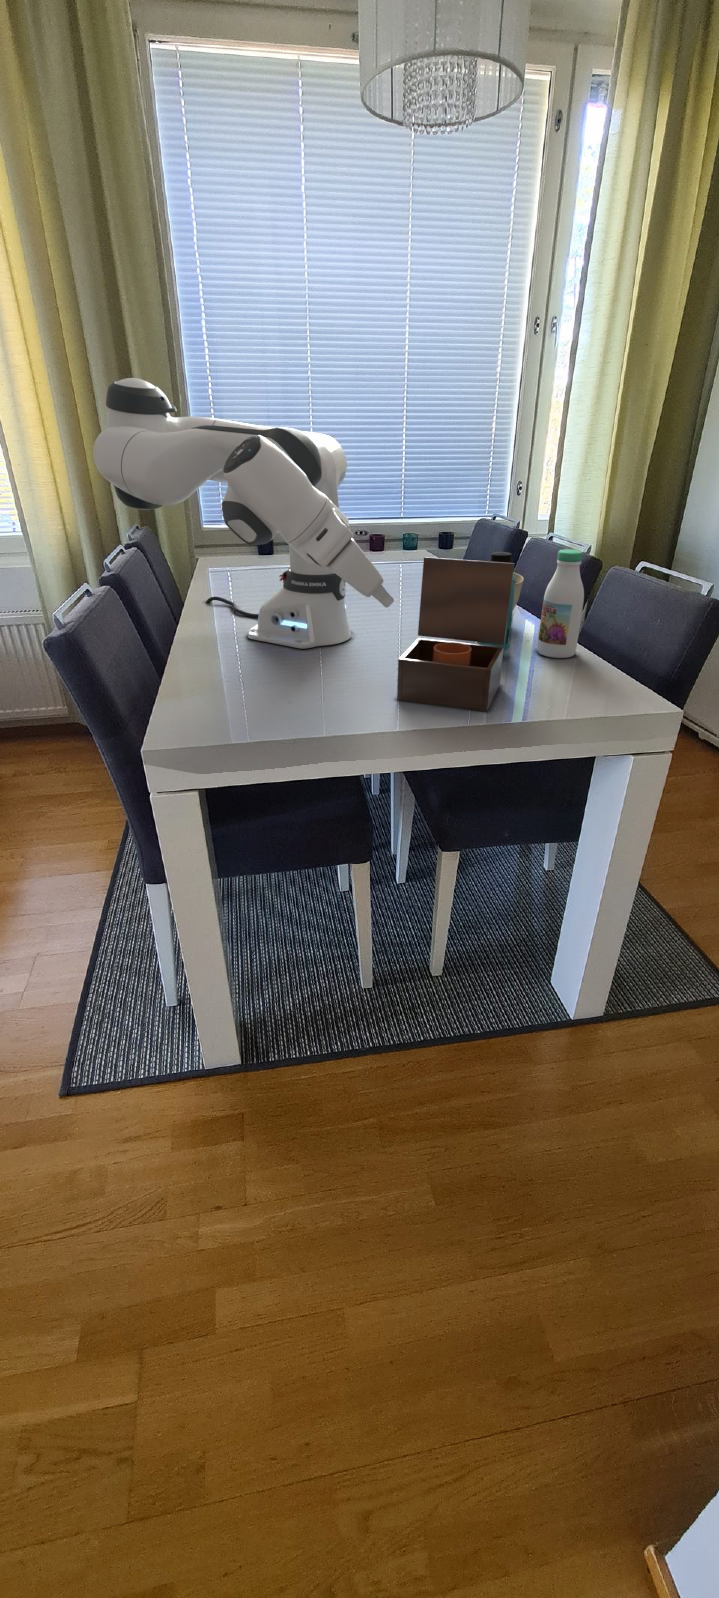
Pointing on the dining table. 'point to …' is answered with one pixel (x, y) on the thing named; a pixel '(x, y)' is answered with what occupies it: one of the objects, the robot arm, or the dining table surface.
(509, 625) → the beverage bottle
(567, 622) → the milk bottle
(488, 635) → the lid
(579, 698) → the dining table surface
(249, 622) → the dining table surface
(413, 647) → the box
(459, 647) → the cup
